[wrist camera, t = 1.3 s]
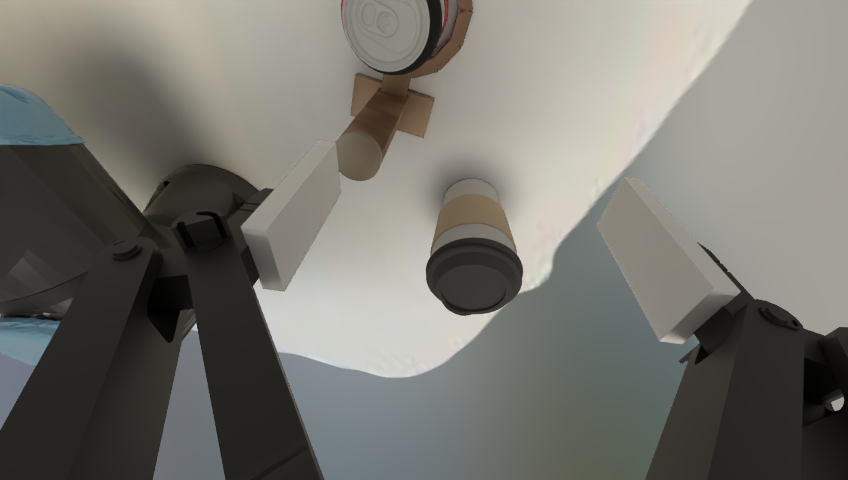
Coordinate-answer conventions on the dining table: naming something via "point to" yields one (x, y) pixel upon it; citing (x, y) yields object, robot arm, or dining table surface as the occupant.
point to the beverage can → (394, 32)
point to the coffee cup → (473, 252)
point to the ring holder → (391, 108)
